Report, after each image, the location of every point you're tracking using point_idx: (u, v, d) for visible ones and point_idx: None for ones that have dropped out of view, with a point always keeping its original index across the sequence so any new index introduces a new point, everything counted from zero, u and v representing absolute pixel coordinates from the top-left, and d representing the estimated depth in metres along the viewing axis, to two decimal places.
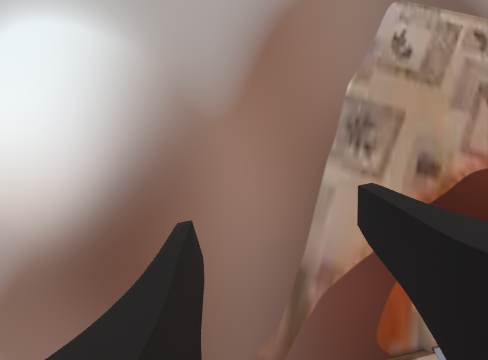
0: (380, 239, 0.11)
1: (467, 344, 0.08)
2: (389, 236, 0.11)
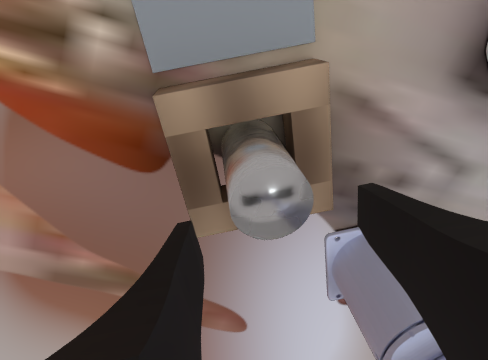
0: (380, 239, 0.11)
1: (467, 343, 0.08)
2: (389, 236, 0.11)
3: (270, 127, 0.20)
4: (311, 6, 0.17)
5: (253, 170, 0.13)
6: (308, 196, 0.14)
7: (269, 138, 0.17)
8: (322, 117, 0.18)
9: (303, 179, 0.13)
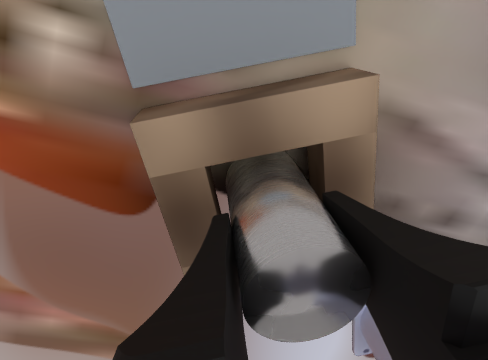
0: None
1: (411, 356, 0.08)
2: None
3: (290, 157, 0.15)
4: None
5: (281, 253, 0.08)
6: (363, 285, 0.09)
7: (295, 182, 0.12)
8: (365, 148, 0.13)
9: (358, 263, 0.08)
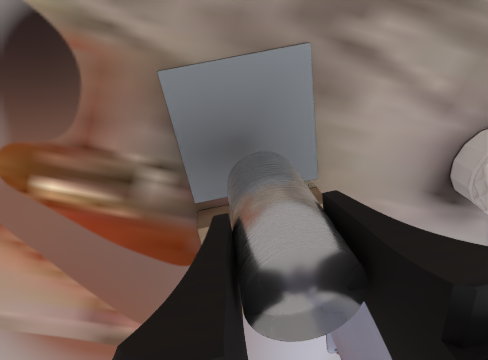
0: None
1: (411, 356, 0.08)
2: (348, 245, 0.11)
3: None
4: (314, 157, 0.23)
5: (280, 252, 0.08)
6: (360, 285, 0.09)
7: (294, 185, 0.12)
8: None
9: (355, 263, 0.09)
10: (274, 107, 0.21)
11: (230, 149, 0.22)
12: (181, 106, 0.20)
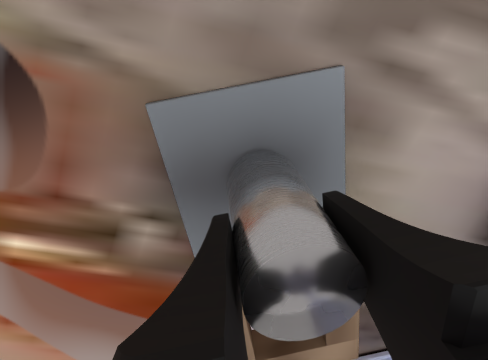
0: None
1: (411, 356, 0.08)
2: (348, 245, 0.11)
3: (290, 161, 0.16)
4: None
5: (280, 252, 0.08)
6: (360, 284, 0.09)
7: (294, 185, 0.12)
8: None
9: (355, 263, 0.09)
10: (295, 145, 0.16)
11: None
12: (177, 147, 0.15)
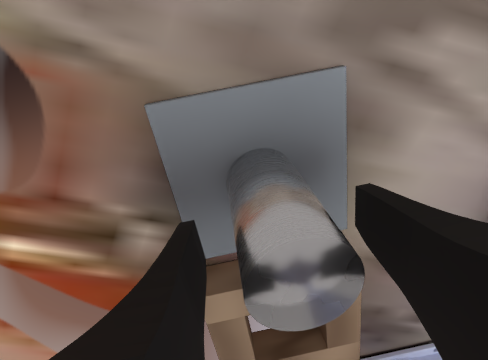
0: (377, 240, 0.11)
1: (463, 344, 0.08)
2: (386, 237, 0.11)
3: (288, 158, 0.16)
4: (344, 204, 0.18)
5: (280, 243, 0.09)
6: (357, 275, 0.10)
7: (293, 180, 0.12)
8: None
9: (352, 254, 0.09)
10: (296, 146, 0.16)
11: None
12: (176, 148, 0.15)
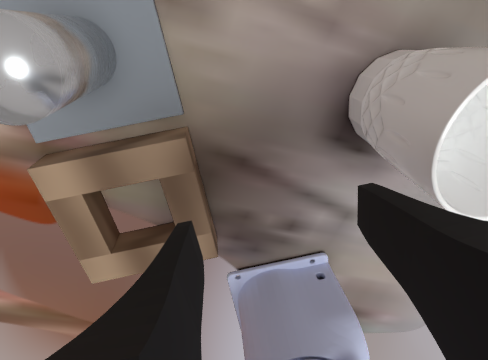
0: (380, 239, 0.11)
1: (467, 344, 0.08)
2: (389, 236, 0.11)
3: (101, 29, 0.17)
4: (173, 86, 0.19)
5: None
6: (47, 60, 0.11)
7: (52, 15, 0.13)
8: (189, 182, 0.20)
9: (29, 32, 0.10)
10: (107, 16, 0.17)
11: None
12: None
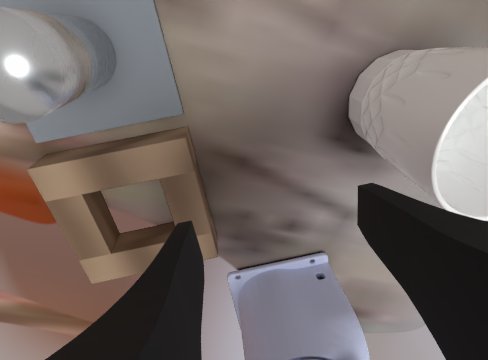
0: (380, 239, 0.11)
1: (467, 344, 0.08)
2: (389, 236, 0.11)
3: (101, 29, 0.17)
4: (173, 86, 0.19)
5: None
6: (47, 58, 0.11)
7: (53, 14, 0.13)
8: (189, 182, 0.20)
9: (30, 29, 0.10)
10: (107, 16, 0.17)
11: None
12: None
